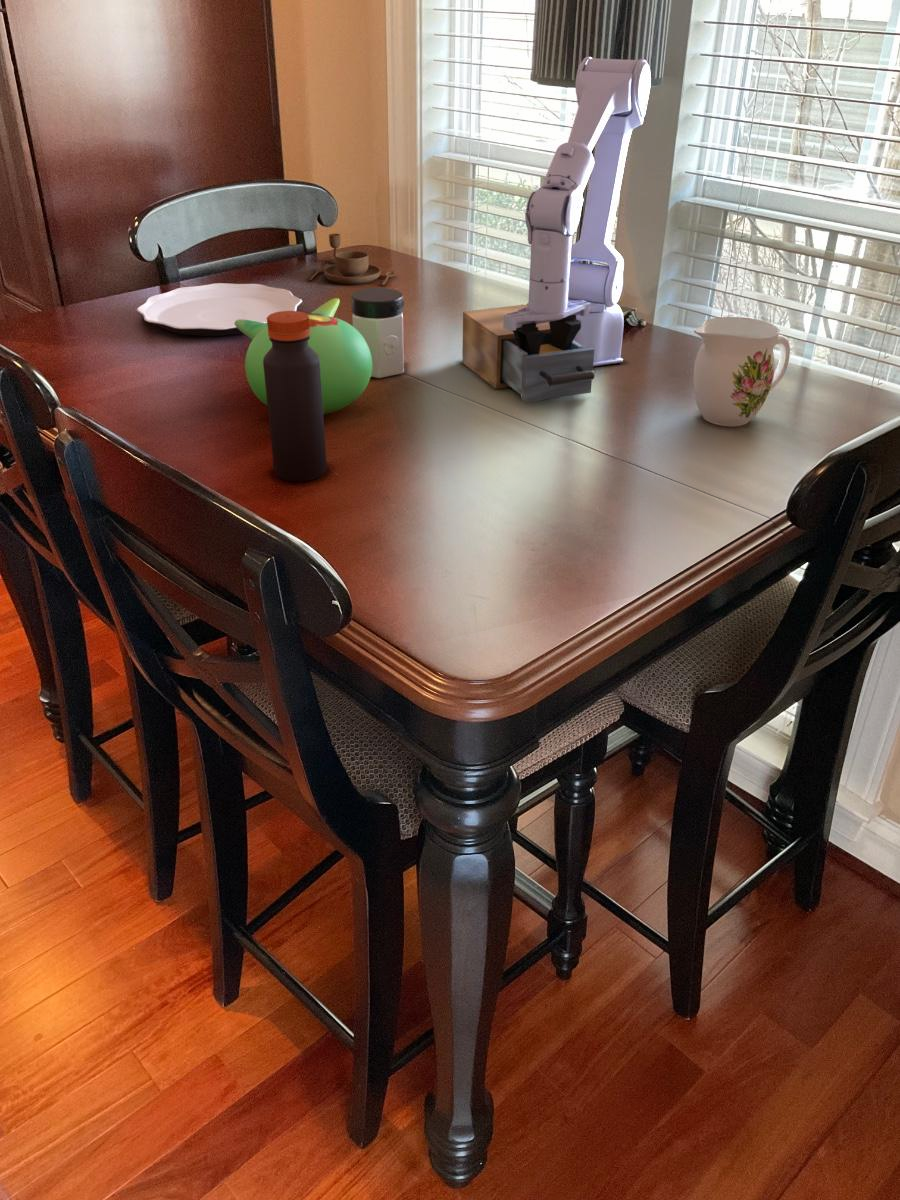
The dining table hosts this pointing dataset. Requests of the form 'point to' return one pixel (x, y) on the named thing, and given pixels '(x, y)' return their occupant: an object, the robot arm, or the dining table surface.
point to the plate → (215, 307)
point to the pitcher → (736, 368)
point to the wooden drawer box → (488, 341)
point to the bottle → (294, 399)
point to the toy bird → (337, 350)
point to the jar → (381, 328)
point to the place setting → (350, 266)
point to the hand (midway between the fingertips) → (544, 369)
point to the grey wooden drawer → (546, 370)
